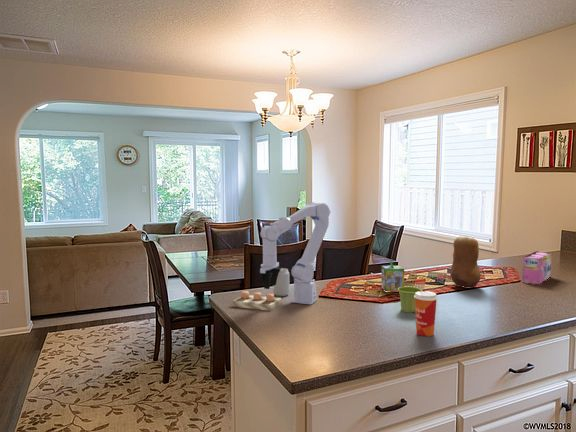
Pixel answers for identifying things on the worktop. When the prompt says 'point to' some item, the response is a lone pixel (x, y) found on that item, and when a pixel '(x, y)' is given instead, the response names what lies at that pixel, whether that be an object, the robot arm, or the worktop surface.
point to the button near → (269, 297)
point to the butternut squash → (465, 262)
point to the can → (282, 283)
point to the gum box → (536, 267)
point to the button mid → (257, 296)
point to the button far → (245, 295)
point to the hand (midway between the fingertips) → (270, 286)
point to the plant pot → (408, 298)
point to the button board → (257, 303)
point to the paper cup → (425, 312)
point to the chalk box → (392, 277)
